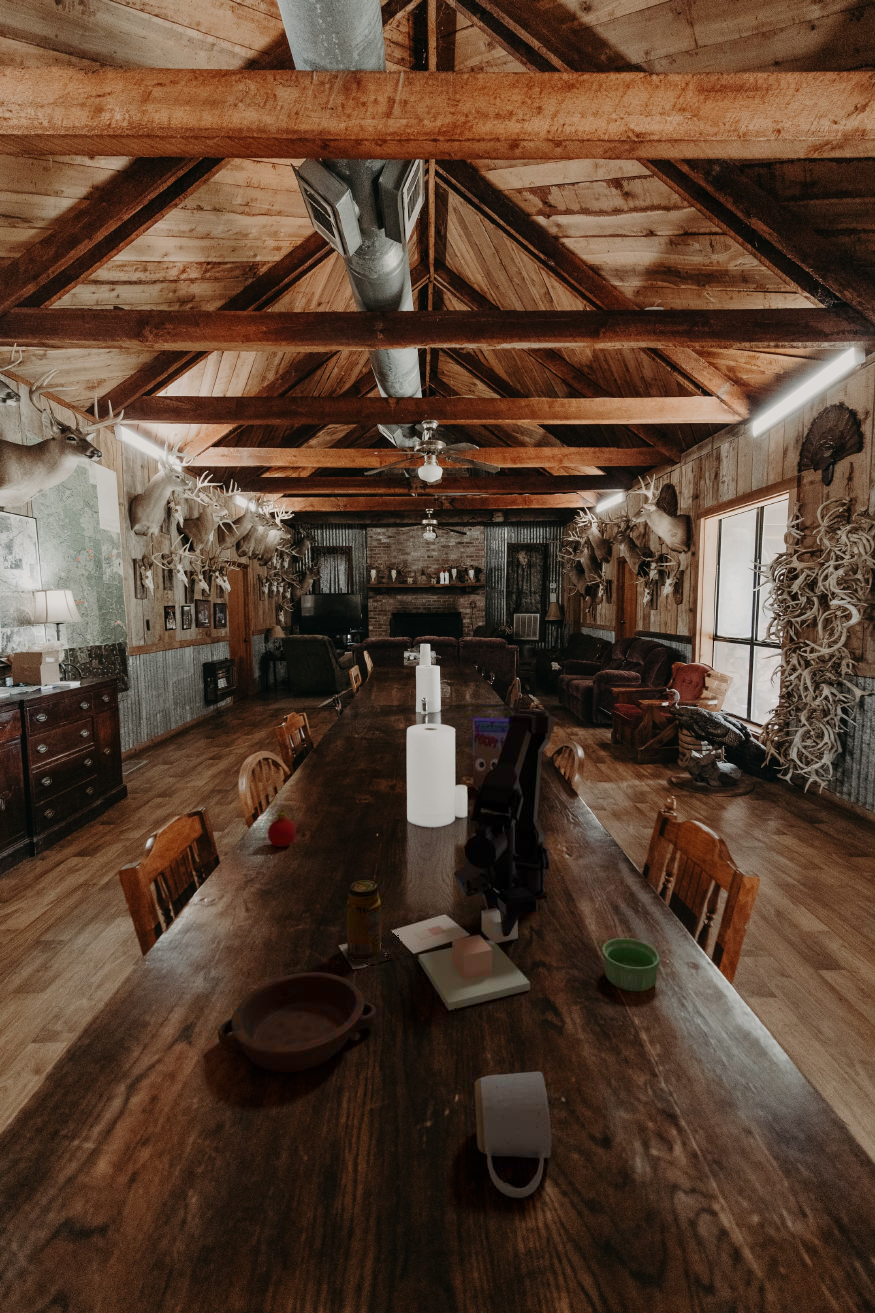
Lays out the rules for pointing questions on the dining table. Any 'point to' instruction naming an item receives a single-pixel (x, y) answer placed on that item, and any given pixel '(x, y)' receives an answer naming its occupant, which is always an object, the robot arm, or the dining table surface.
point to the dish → (297, 1021)
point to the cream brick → (496, 926)
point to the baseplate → (474, 989)
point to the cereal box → (487, 745)
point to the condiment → (362, 923)
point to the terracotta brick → (472, 956)
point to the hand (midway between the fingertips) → (499, 929)
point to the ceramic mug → (513, 1122)
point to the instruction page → (430, 933)
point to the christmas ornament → (282, 831)
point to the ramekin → (630, 964)
